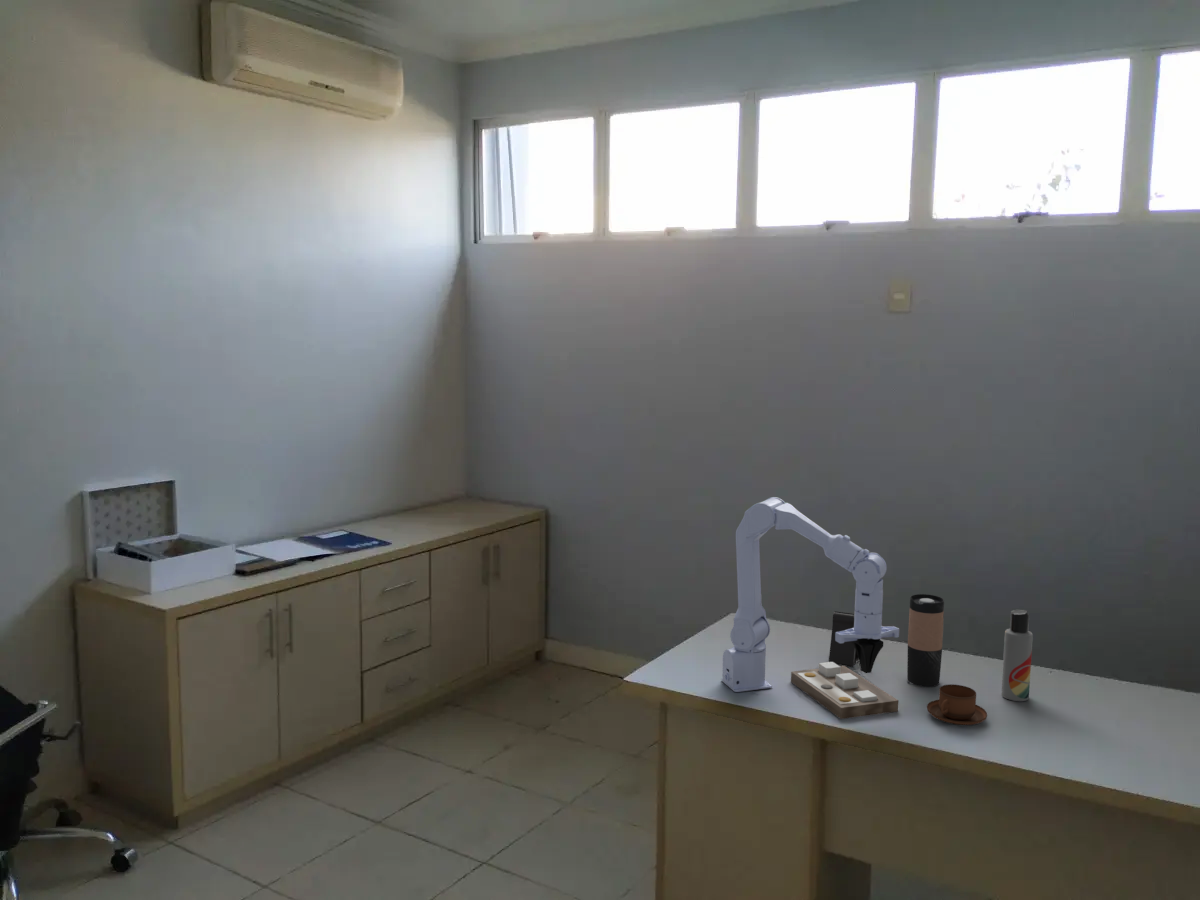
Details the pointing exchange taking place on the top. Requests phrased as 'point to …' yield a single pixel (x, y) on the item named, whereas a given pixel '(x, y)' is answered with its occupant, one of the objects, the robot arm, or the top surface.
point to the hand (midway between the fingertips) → (865, 671)
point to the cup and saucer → (957, 706)
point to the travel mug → (925, 640)
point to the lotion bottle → (1017, 657)
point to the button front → (865, 696)
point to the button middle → (846, 681)
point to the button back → (829, 669)
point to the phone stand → (842, 651)
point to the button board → (843, 694)
